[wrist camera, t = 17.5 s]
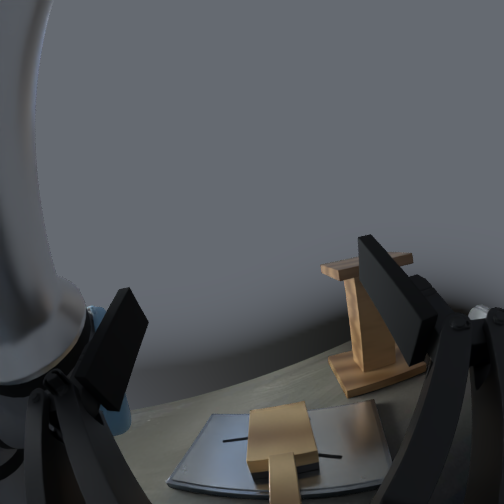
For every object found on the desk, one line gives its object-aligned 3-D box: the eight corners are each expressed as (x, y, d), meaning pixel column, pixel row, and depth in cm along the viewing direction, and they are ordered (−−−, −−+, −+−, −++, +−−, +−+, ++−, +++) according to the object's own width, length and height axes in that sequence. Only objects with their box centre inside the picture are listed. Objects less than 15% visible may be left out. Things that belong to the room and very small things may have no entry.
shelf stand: (328, 363, 49) (313, 265, 48) (392, 344, 48) (383, 250, 48) (347, 398, 35) (332, 272, 34) (426, 371, 34) (420, 251, 34)
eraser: (254, 427, 31) (248, 406, 31) (307, 418, 30) (303, 397, 30) (247, 568, 9) (235, 555, 9) (341, 556, 8) (342, 542, 8)
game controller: (527, 386, 17) (538, 330, 17) (517, 392, 17) (528, 336, 17) (475, 340, 35) (476, 298, 35) (465, 343, 36) (466, 301, 36)
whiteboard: (168, 487, 21) (164, 480, 21) (213, 418, 36) (211, 412, 36) (395, 485, 15) (396, 478, 15) (374, 404, 31) (374, 397, 31)
